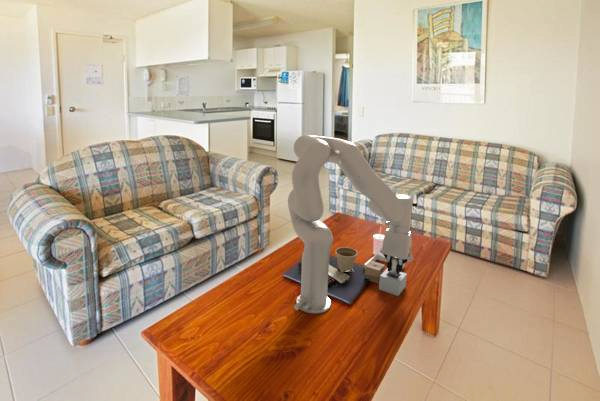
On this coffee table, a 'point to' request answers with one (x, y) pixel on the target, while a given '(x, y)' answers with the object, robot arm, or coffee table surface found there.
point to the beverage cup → (378, 243)
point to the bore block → (392, 282)
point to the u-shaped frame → (378, 257)
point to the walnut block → (374, 271)
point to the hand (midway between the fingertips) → (394, 270)
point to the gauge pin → (394, 267)
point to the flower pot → (345, 258)
